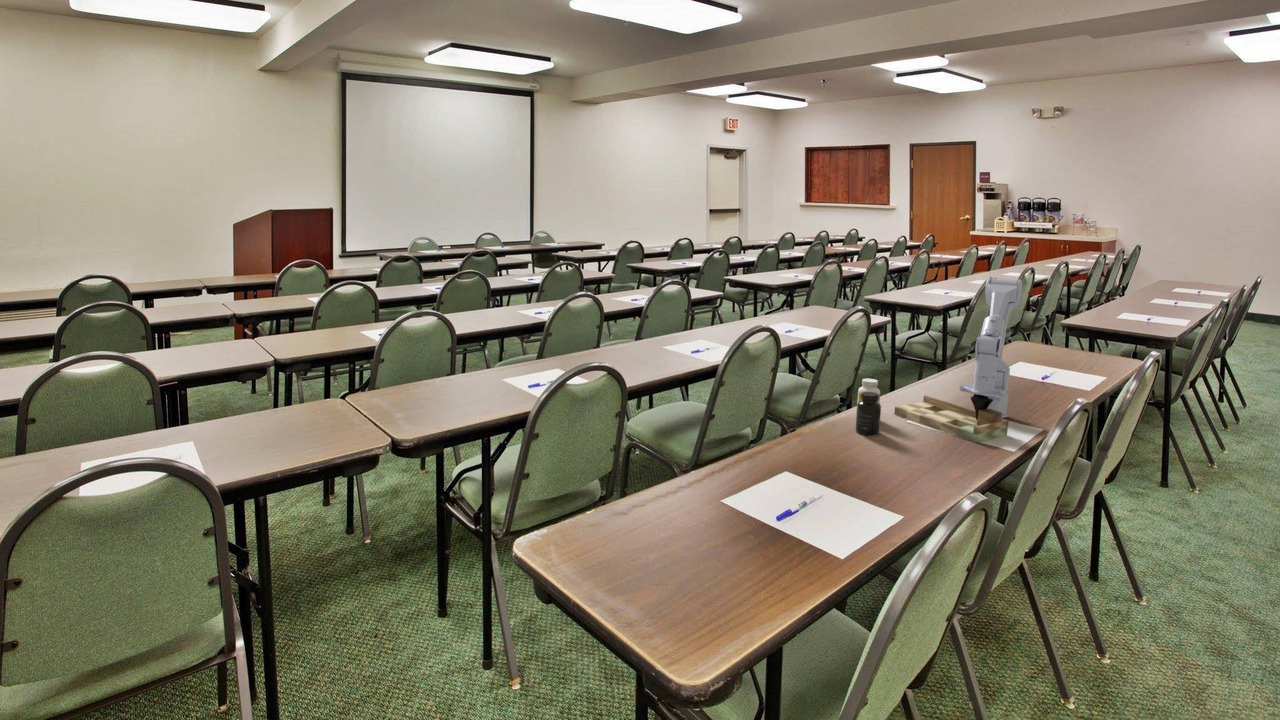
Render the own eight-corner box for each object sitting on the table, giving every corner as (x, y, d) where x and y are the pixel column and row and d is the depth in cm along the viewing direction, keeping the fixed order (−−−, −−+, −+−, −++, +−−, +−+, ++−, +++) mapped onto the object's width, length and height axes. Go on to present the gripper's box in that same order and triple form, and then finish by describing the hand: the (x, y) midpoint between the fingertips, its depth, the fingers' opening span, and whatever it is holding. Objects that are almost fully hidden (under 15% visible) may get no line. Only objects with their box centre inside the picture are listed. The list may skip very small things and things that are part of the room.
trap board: (924, 408, 236) (925, 395, 235) (1006, 435, 210) (1008, 420, 209) (894, 414, 229) (895, 400, 228) (975, 442, 203) (977, 427, 202)
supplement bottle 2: (859, 427, 217) (862, 389, 214) (881, 431, 213) (885, 392, 210) (851, 433, 211) (854, 394, 208) (875, 437, 207) (878, 398, 205)
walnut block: (986, 422, 213) (988, 408, 212) (1000, 427, 209) (1002, 412, 208) (976, 424, 211) (978, 410, 210) (990, 429, 207) (992, 414, 206)
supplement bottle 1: (879, 423, 220) (882, 383, 217) (857, 422, 221) (860, 382, 218) (876, 417, 226) (879, 378, 223) (855, 415, 228) (858, 377, 225)
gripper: (955, 371, 214) (950, 414, 217) (998, 383, 202) (992, 428, 205) (970, 369, 217) (965, 411, 220) (1014, 380, 205) (1008, 425, 208)
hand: (979, 419), depth 213 cm, fingers closed
